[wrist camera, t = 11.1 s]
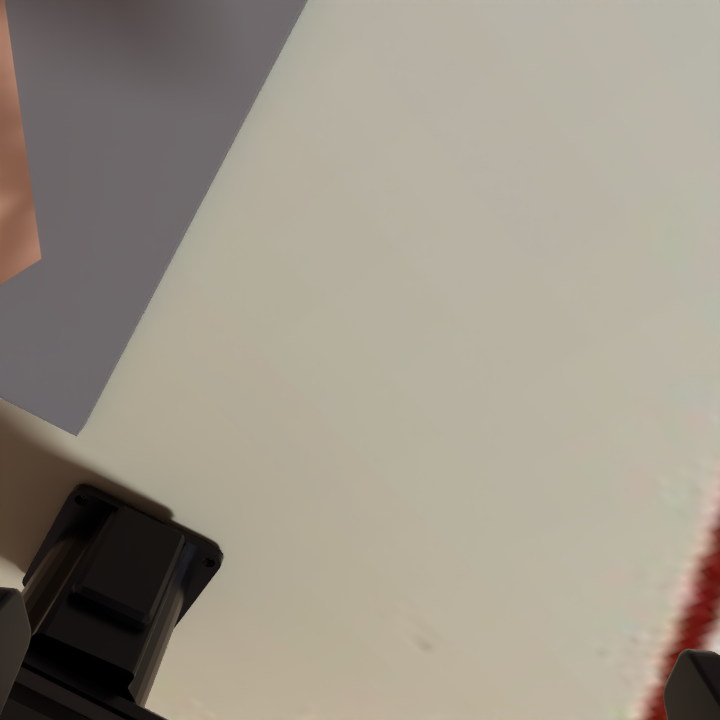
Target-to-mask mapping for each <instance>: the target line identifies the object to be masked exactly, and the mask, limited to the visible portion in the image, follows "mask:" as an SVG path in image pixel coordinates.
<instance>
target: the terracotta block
mask: <svg viewBox="0 0 720 720" xmlns="http://www.w3.org/2000/svg"><path fill="white" fill-rule="evenodd" d="M40 259H41V252H40V245H39V238H38V231H37V224H36V217H35V210H34V203H33V196H32V189H31V182H30V175H29V168H28V161H27V154H26V147H25V140H24V133H23V126H22V119H21V112H20V105H19V98H18V90H17V83H16V76H15V69H14V62H13V55H12V48H11V41H10V34H9V27H8V20H7V13H6V6H5V0H0V284H2V283H4V282H5V281H7V280H8V279H10V278H12V277H13V276H15V275H16V274H18V273H20V272H21V271H23V270H24V269H26V268H27V267H29V266H31V265H32V264H34V263H35V262H37V261H39V260H40Z"/></svg>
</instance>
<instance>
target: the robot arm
mask: <svg viewBox="0 0 720 720" xmlns="http://www.w3.org/2000/svg"><path fill="white" fill-rule="evenodd" d="M80 495H81V496H84V497H85V498H87V499H85V498H83V497H81V496H80ZM208 558H211V559H213V560H210V559H208ZM222 560H223V553H222V552H221V550H219V549H218V548H216V547H214V546H212V545H210V544H208V543H206V542H204V541H202V540H200V539H198V538H196V537H194V536H192V535H190V534H188V533H186V532H184V531H182V530H180V529H178V528H176V527H174V526H172V525H170V524H168V523H166V522H163V521H161V520H159V519H157V518H155V517H153V516H151V515H149V514H147V513H145V512H143V511H141V510H139V509H137V508H135V507H133V506H131V505H129V504H127V503H125V502H123V501H121V500H119V499H117V498H115V497H113V496H111V495H109V494H107V493H105V492H103V491H101V490H99V489H97V488H95V487H93V486H91V485H87V484H79V485H76V486H75V487H74V488H73V490H72V491H71V493H70V494H69V496H68V498H67V499H66V501H65V503H64V505H63V507H62V509H61V510H60V512H59V514H58V516H57V518H56V520H55V521H54V523H53V525H52V527H51V529H50V531H49V532H48V534H47V536H46V538H45V540H44V542H43V543H42V545H41V547H40V549H39V551H38V552H37V554H36V556H35V558H34V560H33V562H32V563H31V565H30V567H29V569H28V571H27V573H26V574H25V576H24V578H23V581H22V583H23V586H24V587H25V588H24V589H23V591H22V592H20V591H19V590H18V589H15V588H4V587H0V720H167V719H165V718H164V717H162V716H160V715H158V714H156V713H154V712H152V711H150V710H148V709H146V708H144V707H145V704H146V701H147V699H148V696H149V693H150V691H151V688H152V685H153V683H154V680H155V677H156V675H157V672H158V669H159V667H160V664H161V661H162V658H163V656H164V653H165V650H166V648H167V645H168V642H169V640H170V637H171V634H172V632H173V629H174V628H175V626H176V625H177V624H178V622H179V621H180V620H181V619H182V617H183V616H184V615H185V613H186V612H187V611H188V609H189V608H190V607H191V605H192V604H193V603H194V601H195V600H196V599H197V597H198V596H199V595H200V593H201V592H202V591H203V589H204V588H205V587H206V586H207V584H208V583H209V582H210V580H211V579H212V578H213V576H214V575H215V574H216V572H217V571H218V570H219V568H220V566H221V563H222ZM664 705H665V710H666V714H667V718H668V720H720V655H718V654H717V653H715V652H712V651H705V650H694V649H685V650H684V651H682V652H681V653H680V655H679V656H678V659H677V661H676V663H675V665H674V667H673V669H672V672H671V674H670V676H669V678H668V680H667V682H666V685H665V688H664Z"/></svg>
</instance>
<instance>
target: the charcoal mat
mask: <svg viewBox="0 0 720 720" xmlns="http://www.w3.org/2000/svg"><path fill="white" fill-rule="evenodd" d="M306 2H307V0H5V6H6V13H7V20H8V27H9V34H10V41H11V48H12V55H13V62H14V69H15V76H16V83H17V90H18V98H19V105H20V112H21V119H22V126H23V133H24V140H25V147H26V154H27V161H28V168H29V175H30V182H31V189H32V196H33V203H34V210H35V217H36V224H37V231H38V238H39V245H40V252H41V259H40V260H39V261H37V262H35V263H34V264H32V265H31V266H29V267H27V268H26V269H24V270H23V271H21V272H20V273H18V274H16V275H15V276H13V277H12V278H10V279H8V280H7V281H5V282H4V283H2V284H0V398H2V399H4V400H6V401H8V402H10V403H12V404H14V405H16V406H18V407H20V408H22V409H24V410H26V411H28V412H30V413H32V414H34V415H35V416H37V417H39V418H41V419H43V420H45V421H47V422H49V423H51V424H53V425H55V426H57V427H59V428H61V429H63V430H65V431H67V432H69V433H71V434H73V435H75V436H77V435H78V434H79V432H80V431H81V430H82V429H83V427H84V425H85V424H86V422H87V420H88V418H89V416H90V414H91V412H92V410H93V408H94V406H95V405H96V403H97V401H98V399H99V397H100V395H101V393H102V391H103V389H104V387H105V385H106V384H107V382H108V380H109V378H110V376H111V374H112V372H113V370H114V368H115V366H116V364H117V363H118V361H119V359H120V357H121V355H122V353H123V351H124V349H125V347H126V345H127V344H128V342H129V340H130V338H131V336H132V334H133V332H134V330H135V328H136V326H137V324H138V323H139V321H140V319H141V317H142V315H143V313H144V311H145V309H146V307H147V305H148V303H149V302H150V300H151V298H152V296H153V294H154V292H155V290H156V288H157V286H158V284H159V283H160V281H161V279H162V277H163V275H164V273H165V271H166V269H167V267H168V265H169V263H170V262H171V260H172V258H173V256H174V254H175V252H176V250H177V248H178V246H179V244H180V242H181V241H182V239H183V237H184V235H185V233H186V231H187V229H188V227H189V225H190V223H191V222H192V220H193V218H194V216H195V214H196V212H197V210H198V208H199V206H200V204H201V202H202V201H203V199H204V197H205V195H206V193H207V191H208V189H209V187H210V185H211V183H212V181H213V180H214V178H215V176H216V174H217V172H218V170H219V168H220V166H221V164H222V162H223V160H224V159H225V157H226V155H227V153H228V151H229V149H230V147H231V145H232V143H233V141H234V140H235V138H236V136H237V134H238V132H239V130H240V128H241V126H242V124H243V122H244V120H245V119H246V117H247V115H248V113H249V111H250V109H251V107H252V105H253V103H254V101H255V99H256V98H257V96H258V94H259V92H260V90H261V88H262V86H263V84H264V82H265V80H266V79H267V77H268V75H269V73H270V71H271V69H272V67H273V65H274V63H275V61H276V59H277V58H278V56H279V54H280V52H281V50H282V48H283V46H284V44H285V42H286V40H287V38H288V37H289V35H290V33H291V31H292V29H293V27H294V25H295V23H296V21H297V19H298V18H299V16H300V14H301V12H302V10H303V8H304V6H305V4H306Z"/></svg>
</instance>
